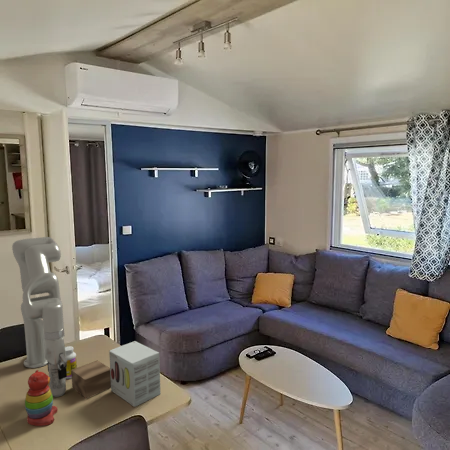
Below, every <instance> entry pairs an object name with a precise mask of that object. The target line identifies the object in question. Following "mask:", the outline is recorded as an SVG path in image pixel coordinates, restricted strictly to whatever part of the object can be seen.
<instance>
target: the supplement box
mask: <svg viewBox="0 0 450 450" xmlns="http://www.w3.org/2000/svg"><path fill="white" fill-rule="evenodd" d="M108 353H109V354H108V355H109V368H110V377H111V388H110V391H111V392H112V393H114V394H115V395H117V396H118V397H120V398H121V399H122V400H124V401H125V402H127V403H128V404H130V405H131V406H133V408H136V407H137V406H139V405H141V404H143V403H146V402H148V401H149V400H152V399H154V398H156V397H157V396H160V395H161V393H162V392H161V369H160V368H161V365H160V352H159V351H157V350H155V349H153V348H152V347H150V346H147V345H145V344H142V343H140V342H138V341H136V340H134V341H132V342H131V341H130V342H129V343H126V344H122V345H120V346H117V347H115V348H113V349H110V350H108Z"/></svg>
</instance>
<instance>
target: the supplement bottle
mask: <svg viewBox="0 0 450 450" xmlns="http://www.w3.org/2000/svg"><path fill="white" fill-rule="evenodd" d="M65 352H66V360H67V368H66V371H67V377H65V380H70V379H72V374H71V370H73V369H75V368H78V364H77V353H76V352H75V351H74V347H73V346H72V345H71V346H70V345H68V346H65Z"/></svg>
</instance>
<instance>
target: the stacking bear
mask: <svg viewBox="0 0 450 450" xmlns="http://www.w3.org/2000/svg"><path fill="white" fill-rule="evenodd" d="M27 385H28V387H29V388H28V390H27V392H26V395H25V400H24V406H25V407H24V408H25V411H26V413H27V418H26V422H27V424H29V425H31V426H35V427H36V426H37V427H38V426H39V427H43V426H49V425H51V424H53V423H54V421H55V417H54V415H55V414H56V413H57V412H58V411H59V409H58V406H56V405H53V404H54V397H53V396H52V393H51V390H50V377H49V374H46V373H45V372H44V371H39V369H37V370H35V372H33V373H32V374H31V375H30V376H28V379H27Z"/></svg>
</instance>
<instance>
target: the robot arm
mask: <svg viewBox="0 0 450 450" xmlns="http://www.w3.org/2000/svg"><path fill="white" fill-rule="evenodd" d="M11 246H12V247H11V248H12V249H11V250H12V254H13V257H14V259H15V261H16V262H17V265H18V267H19V273H20V282H21V288H22V303H21V305H20V311H21V312H20V313H21V316H22V320H23V324H24V325H23V326H24V335H25V337H24V338H25V348H26V359H24V361H23V366H24V367H26V368H29V369H31V368H32V369H36V368H41V367H45V366H48V364H49V362H50V363H52V364H53V365H56V364H57V366H58V368H59V370H58V379H63V378H65V377H67V371H66V368H67V360H66V352H65V347H66V345H65V344H66V343H65V338H64V337H65V326H64V325H65V322H64V310H63V309H64V308H63V301H62V300H61V292H60V285H59V282H60V281H59V278H58V276H57V274H56V273H54V272H51V268H50V264H49V263H55V262H58V261H59V262H60V259H61V257H62V256H61V255H62V253H61V250H60V246H59V245H58V243H57V242H56V241H55V240H54V238H52V237H51V236H44V237H31V238H23V239H18V240H16V241H14V242H13V243H12V245H11ZM41 294H48V295H44V296H43V295H42V296H36V297H31V296H35V295H41ZM60 360H62V361H60ZM59 361H60V362H59ZM61 363H62V365H61V366H60V364H61ZM47 371H48V373H49V368H48V367H47Z"/></svg>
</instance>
